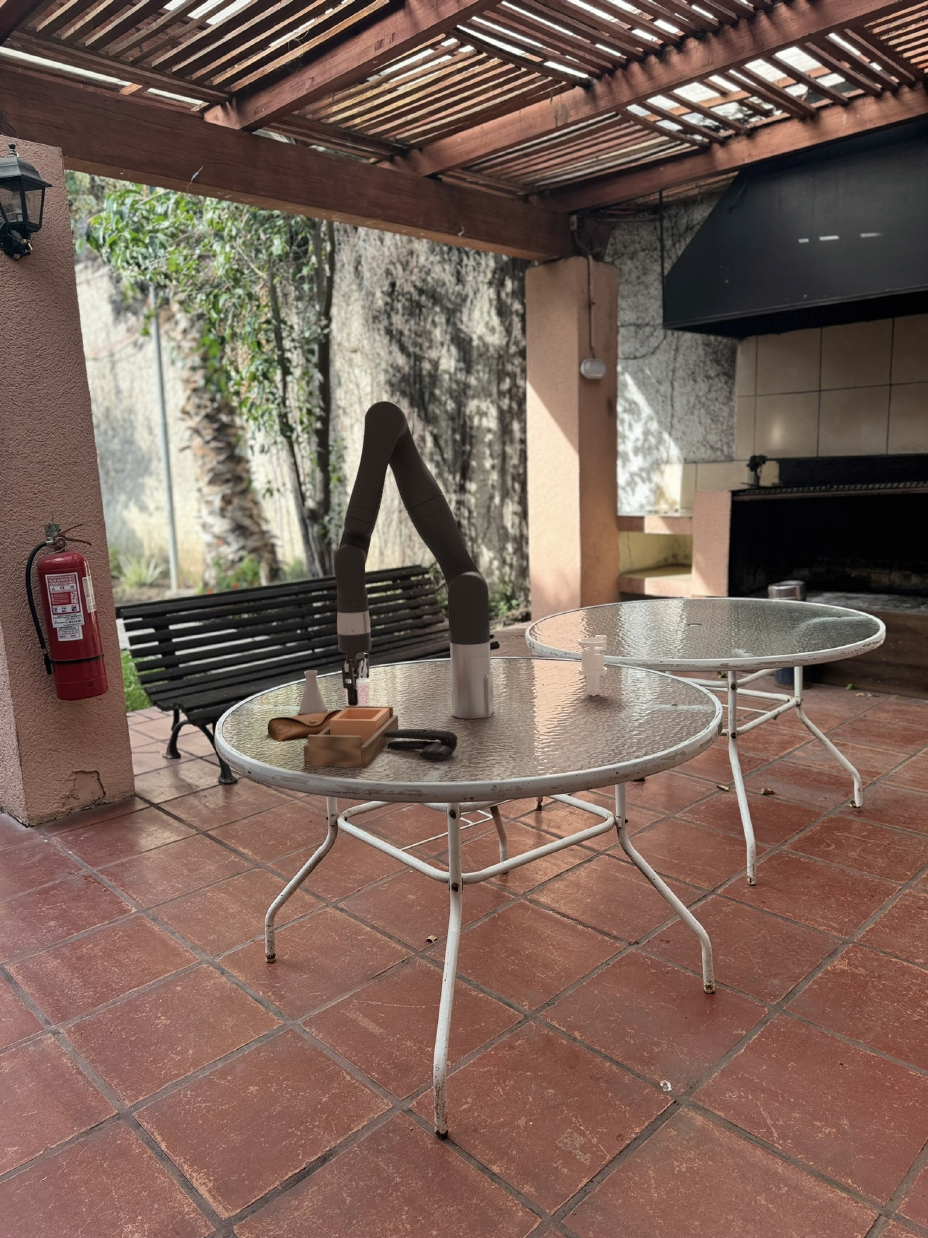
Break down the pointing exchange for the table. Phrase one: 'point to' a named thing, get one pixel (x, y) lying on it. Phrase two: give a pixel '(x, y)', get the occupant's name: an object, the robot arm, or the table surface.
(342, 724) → the box
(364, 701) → the beverage cup
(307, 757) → the bay
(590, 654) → the white plastic upright piece
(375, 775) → the table surface
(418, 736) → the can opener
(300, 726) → the sunglasses case
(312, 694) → the flask
